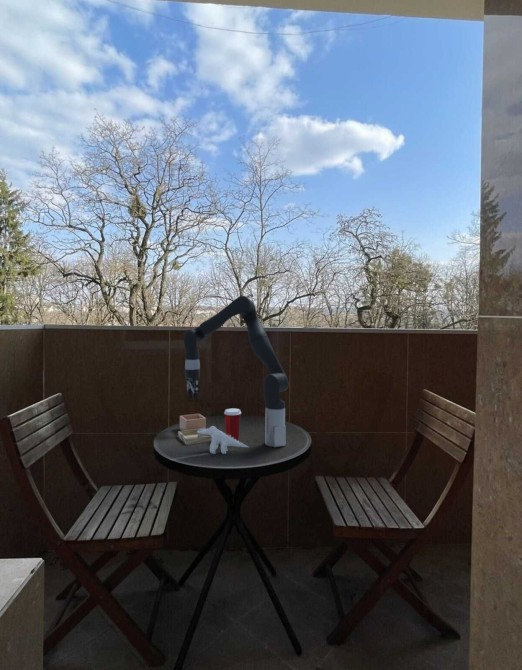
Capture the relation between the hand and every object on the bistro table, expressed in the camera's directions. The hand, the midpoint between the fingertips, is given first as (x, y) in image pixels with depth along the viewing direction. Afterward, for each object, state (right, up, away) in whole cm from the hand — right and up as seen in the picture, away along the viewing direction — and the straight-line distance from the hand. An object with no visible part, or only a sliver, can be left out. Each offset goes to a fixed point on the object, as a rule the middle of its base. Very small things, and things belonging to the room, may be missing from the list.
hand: (192, 399), depth 186 cm
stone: (+7, -17, -12) cm, 22 cm away
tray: (+4, -18, -14) cm, 23 cm away
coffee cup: (+22, -18, -14) cm, 31 cm away
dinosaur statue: (+19, -18, -29) cm, 39 cm away
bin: (0, -17, +1) cm, 17 cm away
